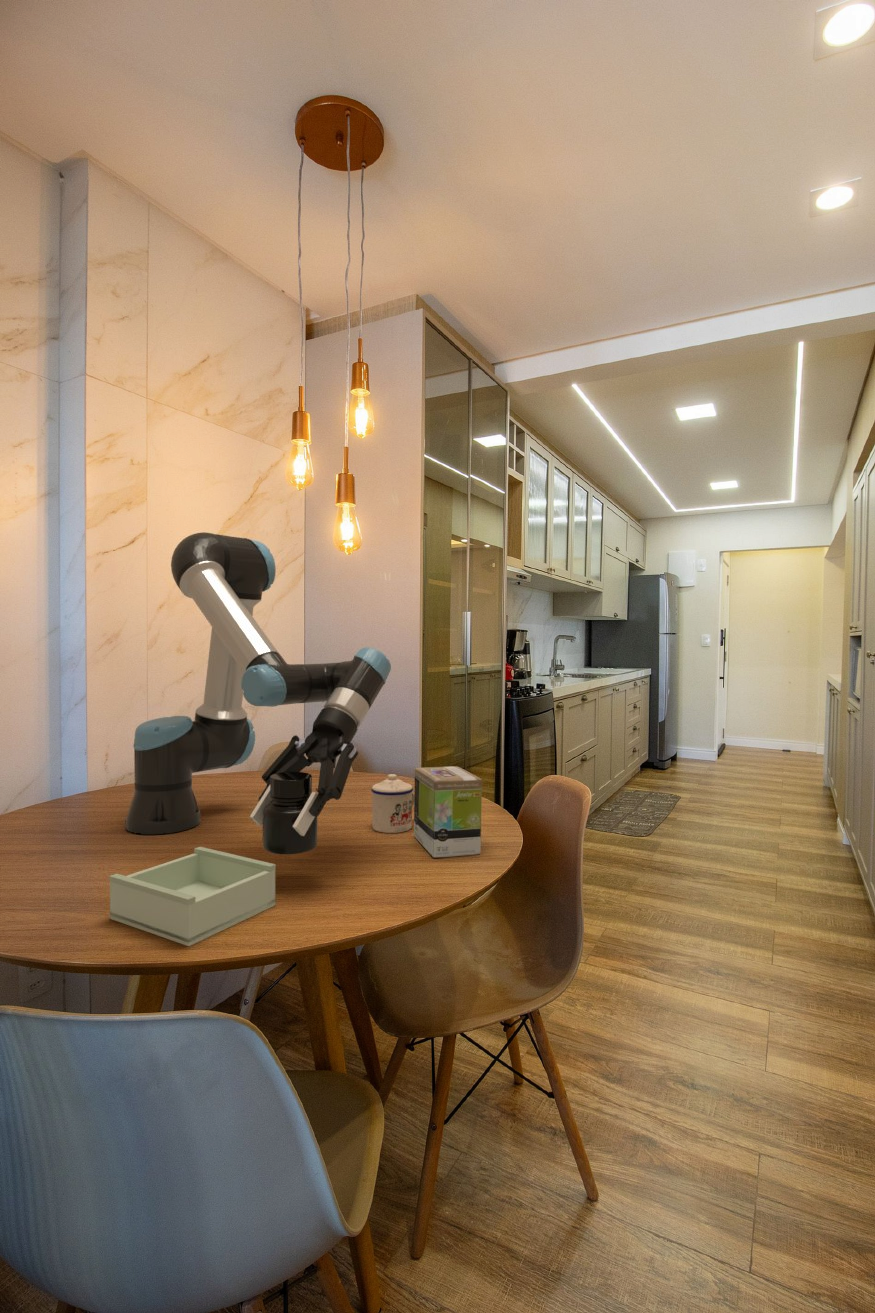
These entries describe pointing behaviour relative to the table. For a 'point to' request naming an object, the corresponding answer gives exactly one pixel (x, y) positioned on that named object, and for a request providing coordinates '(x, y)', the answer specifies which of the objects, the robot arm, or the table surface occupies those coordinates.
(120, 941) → the table surface
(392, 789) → the teacup with lid
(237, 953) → the table surface
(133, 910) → the tray
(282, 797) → the ink bottle
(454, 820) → the tea box
